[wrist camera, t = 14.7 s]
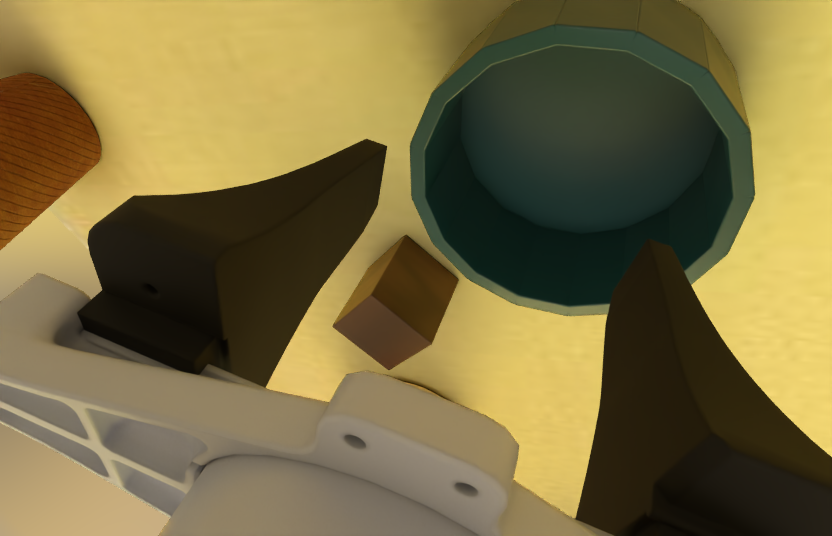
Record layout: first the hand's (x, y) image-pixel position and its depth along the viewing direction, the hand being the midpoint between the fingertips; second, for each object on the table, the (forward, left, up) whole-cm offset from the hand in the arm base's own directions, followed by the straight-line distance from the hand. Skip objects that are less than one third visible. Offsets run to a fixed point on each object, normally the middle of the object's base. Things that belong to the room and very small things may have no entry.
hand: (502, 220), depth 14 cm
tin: (+2, 0, -10) cm, 10 cm away
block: (+9, -11, -10) cm, 17 cm away
